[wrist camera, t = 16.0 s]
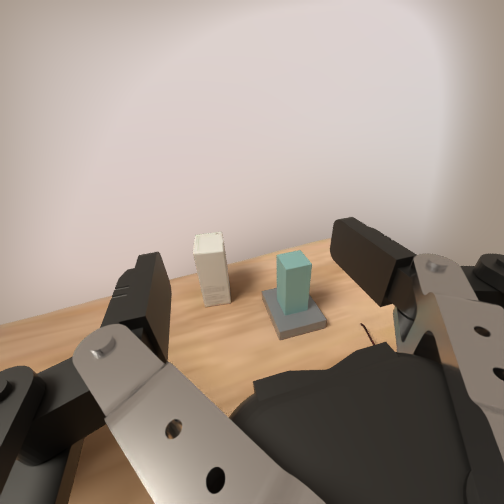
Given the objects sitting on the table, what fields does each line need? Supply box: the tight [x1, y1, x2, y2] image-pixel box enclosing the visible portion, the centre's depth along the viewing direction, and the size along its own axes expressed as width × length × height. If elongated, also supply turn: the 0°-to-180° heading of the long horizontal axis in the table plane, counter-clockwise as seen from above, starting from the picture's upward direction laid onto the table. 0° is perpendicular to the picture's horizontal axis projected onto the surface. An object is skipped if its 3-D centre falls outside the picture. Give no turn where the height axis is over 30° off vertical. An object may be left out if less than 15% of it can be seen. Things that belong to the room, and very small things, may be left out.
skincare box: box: [193, 232, 231, 307], centre depth 53 cm, size 8×7×16 cm
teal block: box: [277, 250, 312, 316], centre depth 46 cm, size 5×5×12 cm
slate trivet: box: [262, 288, 327, 340], centre depth 50 cm, size 10×12×2 cm
